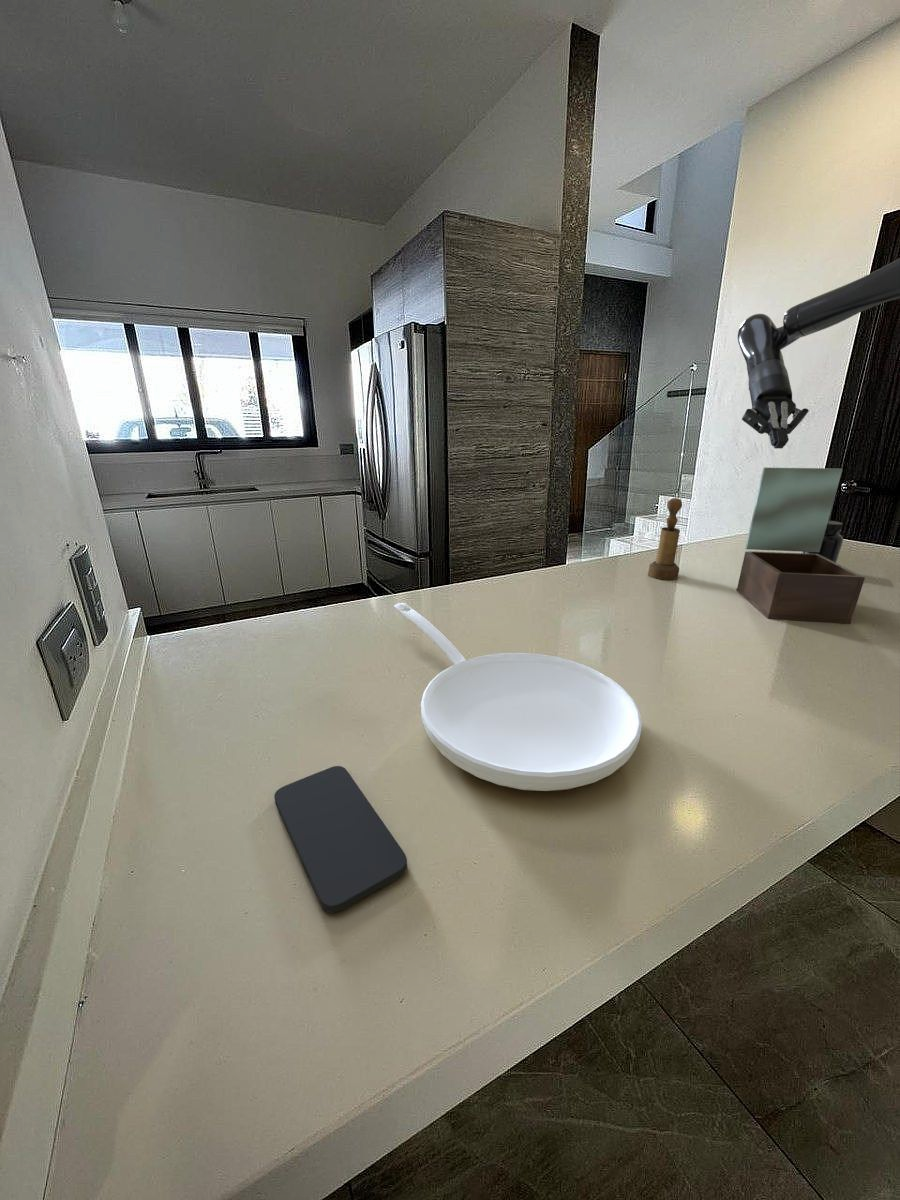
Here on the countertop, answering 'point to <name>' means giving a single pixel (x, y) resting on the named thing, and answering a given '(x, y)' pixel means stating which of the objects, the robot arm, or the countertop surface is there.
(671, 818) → the countertop surface
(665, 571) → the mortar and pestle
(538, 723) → the pan
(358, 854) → the phone
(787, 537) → the glass lid
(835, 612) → the case
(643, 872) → the countertop surface
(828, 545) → the supplement bottle
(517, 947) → the countertop surface
